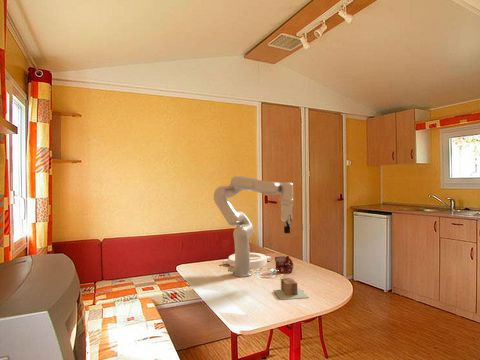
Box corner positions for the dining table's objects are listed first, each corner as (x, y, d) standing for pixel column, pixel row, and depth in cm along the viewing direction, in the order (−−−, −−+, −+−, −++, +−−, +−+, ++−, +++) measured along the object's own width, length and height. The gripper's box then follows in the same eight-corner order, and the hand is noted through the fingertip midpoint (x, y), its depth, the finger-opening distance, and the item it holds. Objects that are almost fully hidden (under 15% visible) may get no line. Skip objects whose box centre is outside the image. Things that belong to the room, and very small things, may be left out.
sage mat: (280, 299, 148) (280, 299, 148) (273, 290, 161) (273, 290, 161) (308, 297, 150) (308, 297, 150) (299, 288, 163) (299, 288, 163)
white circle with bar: (273, 261, 223) (272, 255, 223) (255, 271, 198) (255, 264, 198) (240, 257, 237) (240, 251, 237) (221, 265, 213) (221, 259, 213)
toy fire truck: (295, 272, 193) (295, 256, 193) (277, 274, 190) (276, 257, 191) (291, 269, 200) (291, 254, 200) (273, 271, 197) (273, 255, 197)
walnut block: (280, 288, 163) (286, 295, 153) (280, 277, 163) (286, 283, 153) (291, 288, 164) (297, 294, 154) (291, 277, 164) (297, 283, 154)
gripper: (278, 202, 186) (277, 231, 186) (284, 203, 171) (284, 235, 171) (289, 201, 187) (289, 230, 187) (296, 203, 172) (296, 235, 172)
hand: (287, 232), depth 179 cm, fingers closed
